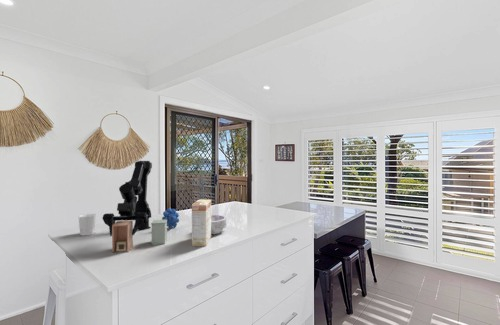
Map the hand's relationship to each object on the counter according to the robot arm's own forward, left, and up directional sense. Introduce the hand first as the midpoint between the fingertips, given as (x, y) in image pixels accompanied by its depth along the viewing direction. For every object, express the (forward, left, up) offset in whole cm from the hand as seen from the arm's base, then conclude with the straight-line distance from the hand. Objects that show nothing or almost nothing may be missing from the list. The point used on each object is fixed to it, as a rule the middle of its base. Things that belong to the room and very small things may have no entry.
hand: (121, 235), depth 117 cm
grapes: (-35, -12, -7) cm, 38 cm away
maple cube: (-1, -1, -7) cm, 7 cm away
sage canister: (-17, +3, -7) cm, 19 cm away
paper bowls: (-45, +11, -7) cm, 47 cm away
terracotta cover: (-1, -1, -7) cm, 7 cm away
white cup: (-1, -39, -7) cm, 40 cm away
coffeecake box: (-31, +18, -7) cm, 37 cm away
